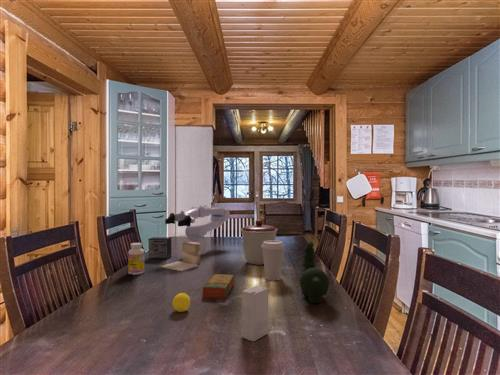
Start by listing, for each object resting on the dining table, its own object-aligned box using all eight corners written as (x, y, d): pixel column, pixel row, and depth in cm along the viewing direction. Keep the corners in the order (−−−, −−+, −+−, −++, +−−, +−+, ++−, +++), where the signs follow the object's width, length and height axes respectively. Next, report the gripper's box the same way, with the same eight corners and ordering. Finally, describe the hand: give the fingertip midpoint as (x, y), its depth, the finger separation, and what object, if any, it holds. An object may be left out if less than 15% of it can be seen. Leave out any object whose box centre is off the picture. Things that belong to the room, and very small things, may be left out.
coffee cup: (287, 276, 139) (287, 241, 138) (280, 283, 130) (280, 244, 130) (266, 274, 143) (266, 239, 142) (257, 280, 134) (257, 243, 134)
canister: (234, 265, 158) (234, 221, 158) (248, 257, 175) (248, 217, 175) (270, 268, 152) (270, 222, 151) (282, 260, 168) (282, 218, 168)
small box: (172, 256, 177) (172, 236, 177) (168, 259, 170) (167, 239, 170) (153, 256, 178) (152, 236, 178) (148, 259, 172) (147, 238, 171)
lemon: (190, 315, 100) (189, 299, 99) (171, 316, 99) (171, 299, 98) (191, 304, 107) (190, 288, 106) (173, 305, 106) (173, 289, 105)
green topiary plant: (296, 290, 127) (302, 309, 102) (296, 240, 128) (301, 246, 103) (321, 290, 126) (333, 309, 101) (320, 240, 128) (332, 247, 103)
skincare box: (255, 329, 89) (255, 284, 89) (269, 334, 86) (269, 287, 86) (240, 337, 85) (240, 290, 84) (254, 343, 82) (254, 294, 81)
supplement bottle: (124, 273, 143) (124, 244, 143) (136, 270, 149) (136, 241, 149) (136, 275, 140) (135, 245, 140) (147, 272, 146) (147, 243, 146)
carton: (234, 285, 128) (234, 274, 128) (226, 300, 113) (226, 287, 112) (213, 284, 130) (213, 273, 129) (202, 298, 114) (202, 286, 114)
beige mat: (178, 262, 164) (178, 261, 164) (198, 266, 157) (198, 264, 157) (160, 267, 154) (160, 266, 154) (181, 271, 147) (181, 270, 147)
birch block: (188, 261, 166) (188, 241, 166) (200, 263, 162) (200, 243, 162) (182, 263, 163) (182, 242, 163) (194, 265, 158) (194, 244, 158)
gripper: (176, 207, 178) (160, 213, 166) (199, 210, 172) (184, 217, 160) (177, 219, 180) (160, 226, 167) (199, 223, 174) (184, 231, 162)
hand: (172, 223), depth 164 cm, fingers open, 7 cm apart
